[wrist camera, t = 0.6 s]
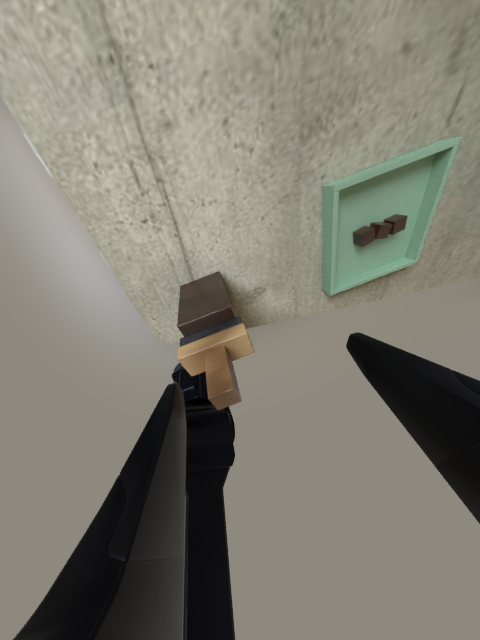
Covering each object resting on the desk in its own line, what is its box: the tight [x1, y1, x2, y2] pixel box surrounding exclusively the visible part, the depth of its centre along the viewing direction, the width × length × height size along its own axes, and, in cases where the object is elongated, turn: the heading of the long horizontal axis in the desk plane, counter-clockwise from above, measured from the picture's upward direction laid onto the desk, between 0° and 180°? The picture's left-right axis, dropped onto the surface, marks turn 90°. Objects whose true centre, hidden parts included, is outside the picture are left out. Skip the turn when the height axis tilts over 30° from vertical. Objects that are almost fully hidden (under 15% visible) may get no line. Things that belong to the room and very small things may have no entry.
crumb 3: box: [383, 214, 408, 235], centre depth 22 cm, size 2×2×2 cm
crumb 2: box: [370, 222, 393, 239], centre depth 22 cm, size 2×2×2 cm
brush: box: [177, 316, 255, 410], centre depth 15 cm, size 6×3×7 cm, turn 107°
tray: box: [323, 136, 462, 296], centre depth 22 cm, size 13×13×2 cm
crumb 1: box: [353, 226, 375, 247], centre depth 22 cm, size 2×2×2 cm
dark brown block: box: [177, 272, 236, 337], centre depth 20 cm, size 5×5×8 cm
